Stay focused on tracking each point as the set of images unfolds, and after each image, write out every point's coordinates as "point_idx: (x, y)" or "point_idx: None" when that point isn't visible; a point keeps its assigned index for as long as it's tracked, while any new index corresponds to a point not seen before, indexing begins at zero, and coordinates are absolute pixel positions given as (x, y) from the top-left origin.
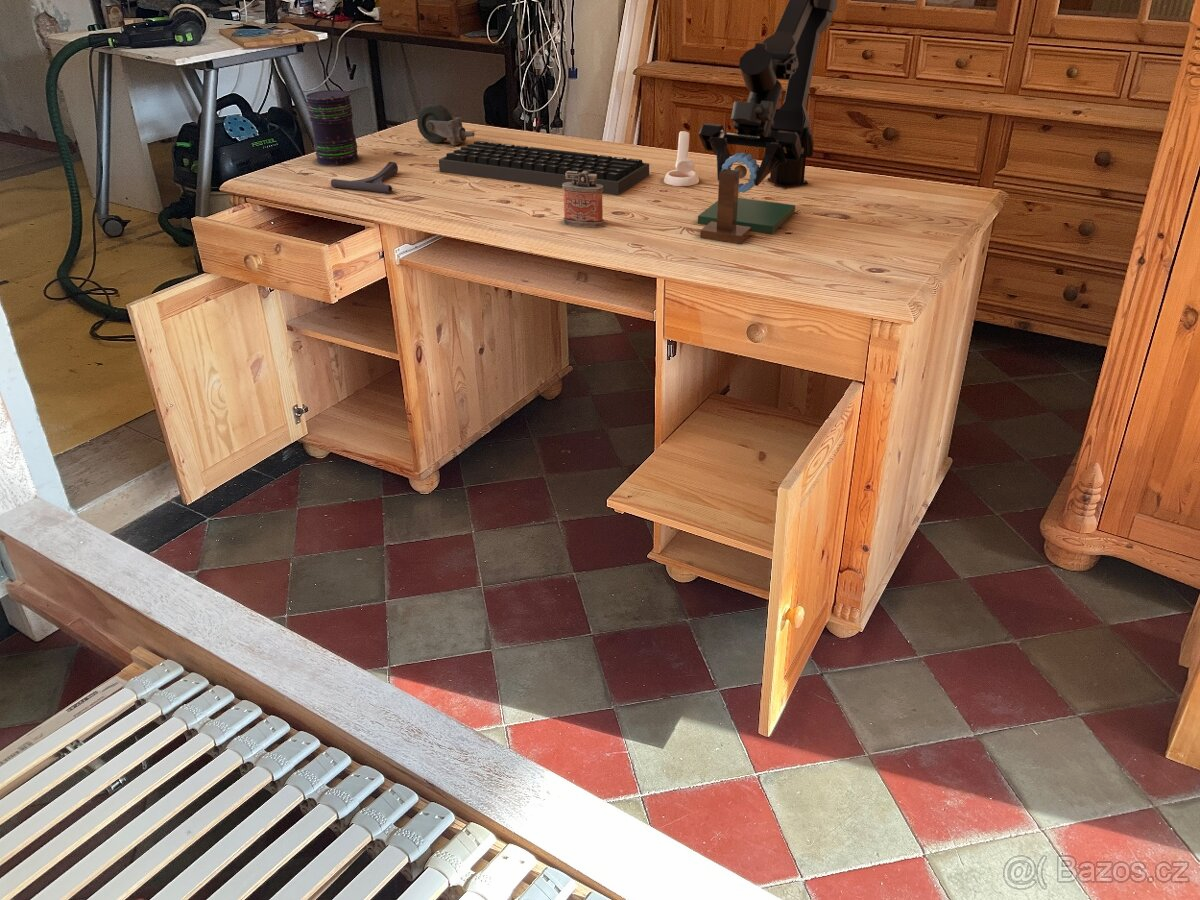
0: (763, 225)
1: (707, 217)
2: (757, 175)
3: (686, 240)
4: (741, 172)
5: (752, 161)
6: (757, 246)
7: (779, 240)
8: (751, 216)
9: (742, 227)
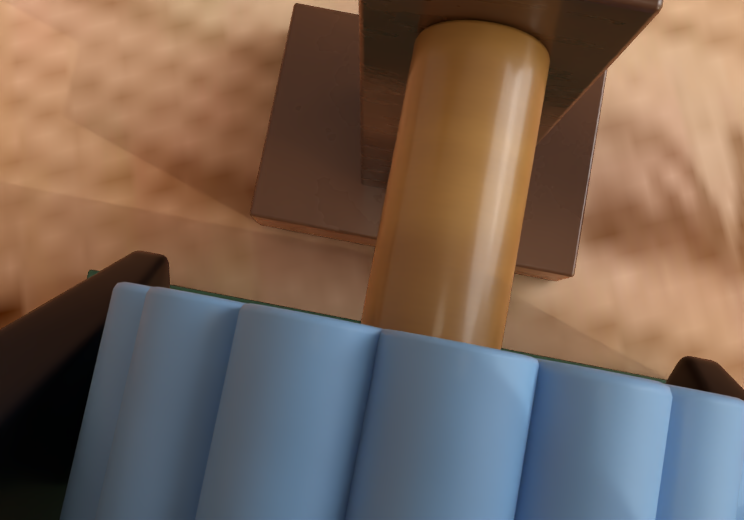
0: None
1: (623, 373)
2: (107, 308)
3: (666, 16)
4: (369, 304)
5: (147, 377)
6: (185, 9)
7: (50, 158)
8: None
9: (313, 187)
